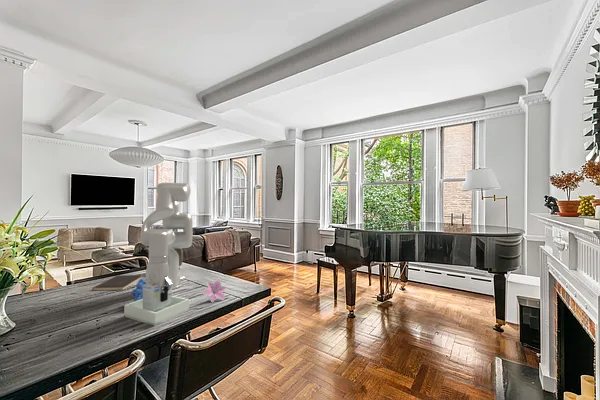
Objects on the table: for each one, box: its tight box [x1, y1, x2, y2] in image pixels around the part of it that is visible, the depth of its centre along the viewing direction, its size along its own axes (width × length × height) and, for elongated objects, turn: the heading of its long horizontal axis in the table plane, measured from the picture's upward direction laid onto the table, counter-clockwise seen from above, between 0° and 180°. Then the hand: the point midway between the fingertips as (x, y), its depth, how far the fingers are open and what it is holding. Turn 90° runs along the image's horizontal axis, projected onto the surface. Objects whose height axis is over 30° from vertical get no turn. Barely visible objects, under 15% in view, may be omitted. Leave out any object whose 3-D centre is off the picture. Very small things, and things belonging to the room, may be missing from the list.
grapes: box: [130, 278, 146, 302], centre depth 131 cm, size 12×7×12 cm, turn 14°
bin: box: [123, 295, 190, 327], centre depth 121 cm, size 17×19×5 cm
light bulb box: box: [143, 279, 173, 311], centre depth 121 cm, size 11×7×11 cm, turn 161°
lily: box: [201, 277, 227, 303], centre depth 139 cm, size 12×12×10 cm
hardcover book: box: [92, 274, 144, 291], centre depth 162 cm, size 16×23×2 cm
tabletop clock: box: [174, 248, 184, 271], centre depth 189 cm, size 14×9×25 cm, turn 123°
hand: (157, 299), depth 121 cm, fingers closed on light bulb box, 7 cm apart
